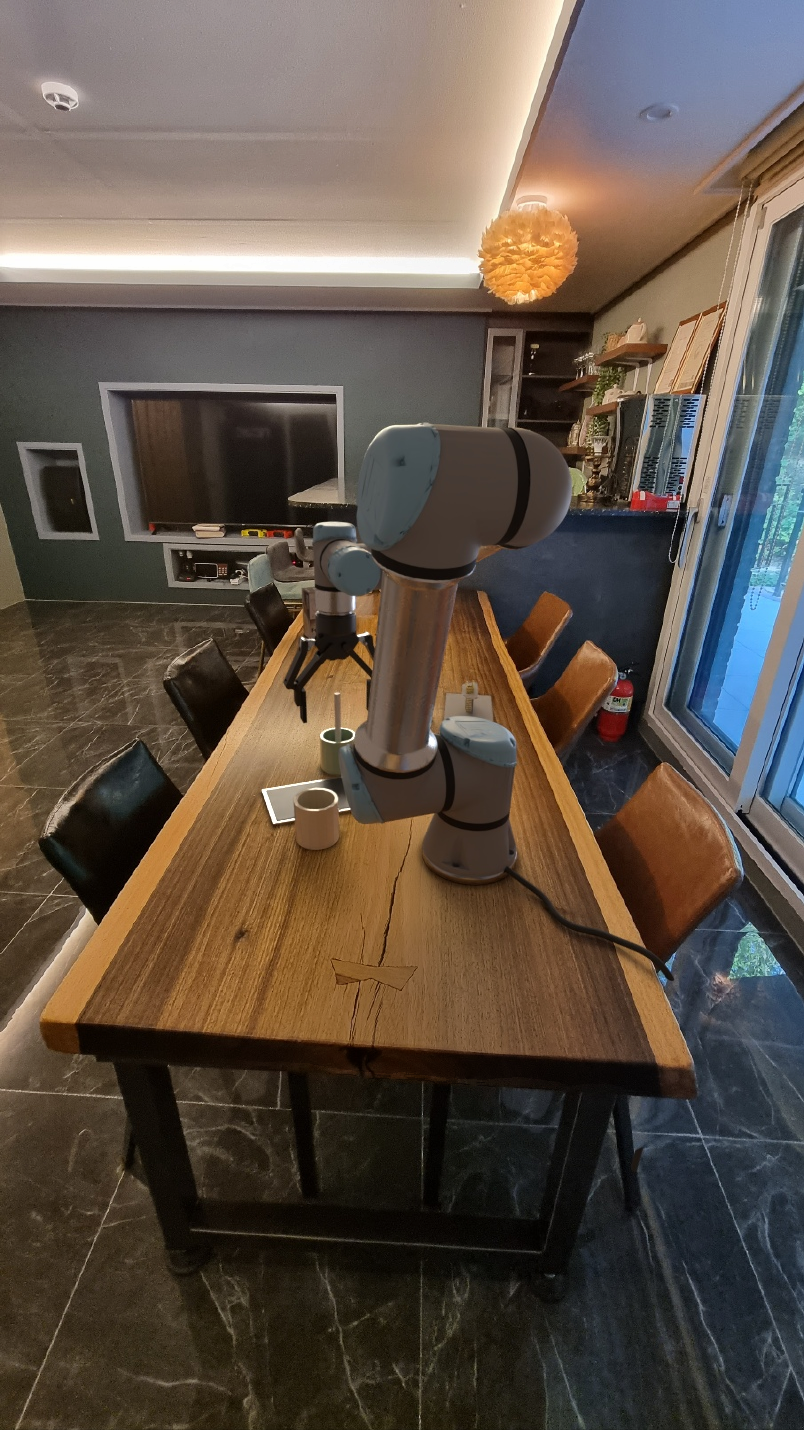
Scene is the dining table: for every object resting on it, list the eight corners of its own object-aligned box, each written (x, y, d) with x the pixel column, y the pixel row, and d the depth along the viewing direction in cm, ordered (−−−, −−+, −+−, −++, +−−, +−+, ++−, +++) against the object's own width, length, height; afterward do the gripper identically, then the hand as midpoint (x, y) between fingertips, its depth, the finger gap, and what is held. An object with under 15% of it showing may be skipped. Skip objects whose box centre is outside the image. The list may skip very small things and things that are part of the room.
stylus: (342, 766, 125) (341, 694, 119) (336, 767, 125) (335, 694, 118) (340, 764, 126) (339, 692, 120) (335, 765, 126) (333, 692, 119)
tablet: (367, 810, 111) (367, 805, 111) (273, 828, 106) (273, 823, 105) (348, 779, 122) (348, 774, 121) (261, 793, 116) (261, 789, 115)
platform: (443, 720, 149) (445, 695, 146) (446, 693, 165) (447, 670, 162) (493, 723, 148) (495, 698, 145) (490, 695, 164) (492, 672, 161)
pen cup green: (360, 773, 124) (360, 740, 121) (326, 779, 121) (325, 745, 118) (350, 757, 130) (350, 725, 127) (317, 762, 128) (316, 730, 124)
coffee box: (328, 638, 207) (327, 591, 201) (310, 640, 205) (308, 593, 198) (320, 631, 215) (318, 586, 208) (302, 633, 212) (300, 587, 206)
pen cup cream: (343, 844, 102) (343, 806, 99) (301, 853, 99) (299, 814, 96) (332, 821, 108) (331, 784, 105) (291, 829, 105) (289, 791, 102)
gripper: (392, 601, 120) (390, 701, 128) (263, 610, 111) (270, 716, 120) (406, 611, 113) (403, 715, 122) (271, 620, 105) (278, 732, 114)
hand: (337, 716), depth 121 cm, fingers open, 13 cm apart
